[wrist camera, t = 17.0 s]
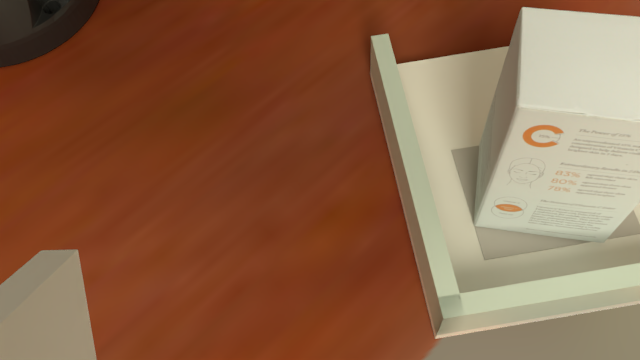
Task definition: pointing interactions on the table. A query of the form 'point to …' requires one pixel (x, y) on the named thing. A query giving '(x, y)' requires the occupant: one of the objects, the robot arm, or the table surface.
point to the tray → (459, 207)
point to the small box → (563, 127)
